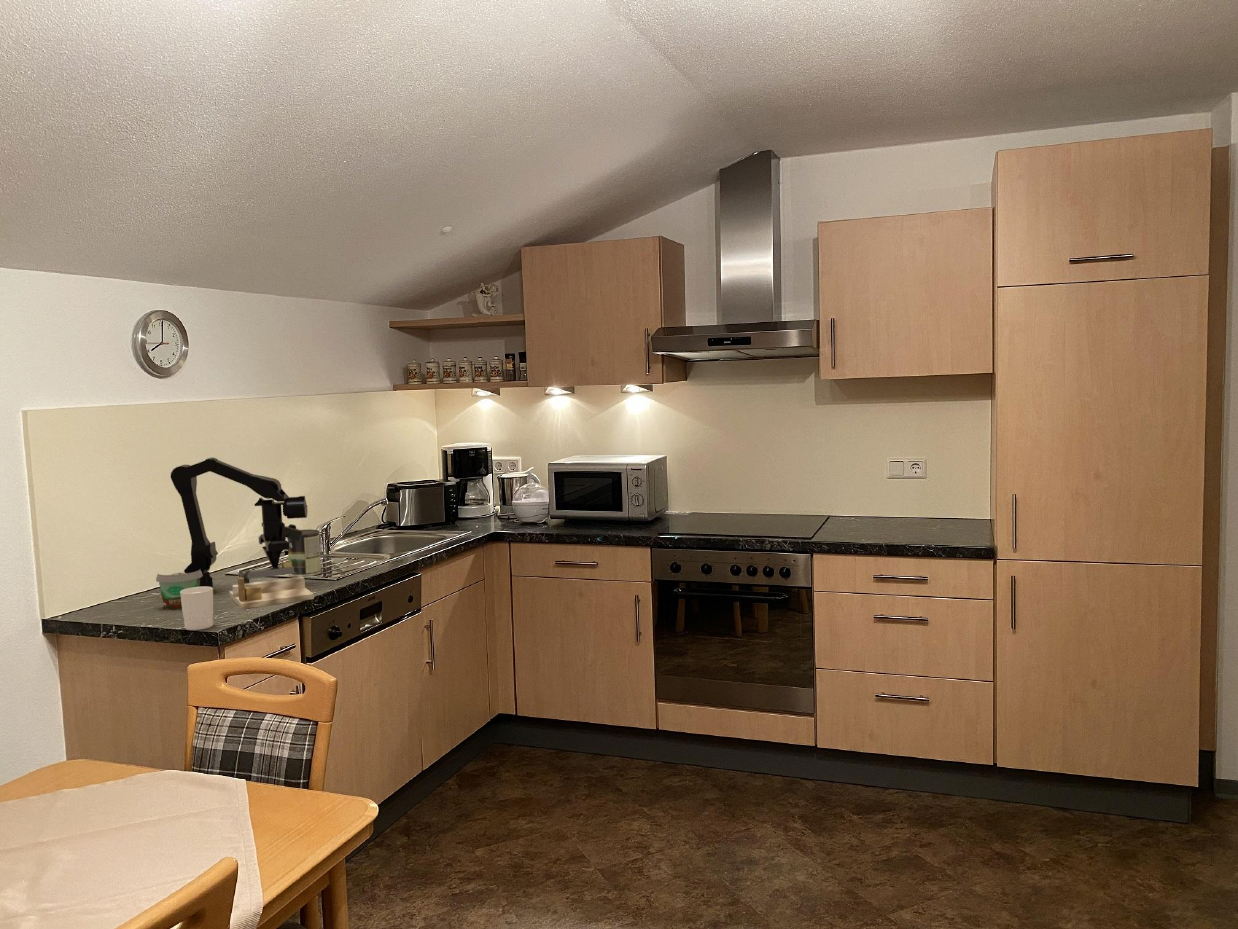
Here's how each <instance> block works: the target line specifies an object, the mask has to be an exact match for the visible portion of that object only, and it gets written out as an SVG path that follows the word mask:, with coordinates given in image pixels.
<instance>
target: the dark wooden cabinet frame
mask: <svg viewBox="0 0 1238 929" xmlns="http://www.w3.org/2000/svg"><path fill="white" fill-rule="evenodd" d="M237 573H238V578H239V577H242V578H244V580H248V579H249V580H254V579H260V578H269V577H275V576H277V577H278V576H284V575H289V574H293V573H294V567H293V566H292V562H290V561H289V560H288V561H281V566H278V567H274V568H272V567H268V568H261V569H251V570H241V571H238V572H237Z"/></svg>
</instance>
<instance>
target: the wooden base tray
mask: <svg viewBox="0 0 1238 929" xmlns="http://www.w3.org/2000/svg"><path fill="white" fill-rule="evenodd" d="M231 587H232V590H229V592H228V593H229V594H228V595H229V597H230V599H231V600H233V602H234V603H235V604H237V606H238V607H239V608H240V609H241V610H245V609H252V608H259V607H260V608H261V607H265V606H266V607H267V606H273V605H275V606H276V605H281V604H287V603H294V602H295V601H296V602H302V601H301V600H303V601H308V600H314V599H315V596H314V595H315V594H314V593H313V592H312V591H310V590H309V589H307V587H306V583H305V577H302V576H300V577H293V576H291V577H286V578H279V579H271V580H263V581H256V582H255V581H254V582H250V579H248V580H244V578H242V577H239V576H238V577H237V584H232V586H231Z"/></svg>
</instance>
